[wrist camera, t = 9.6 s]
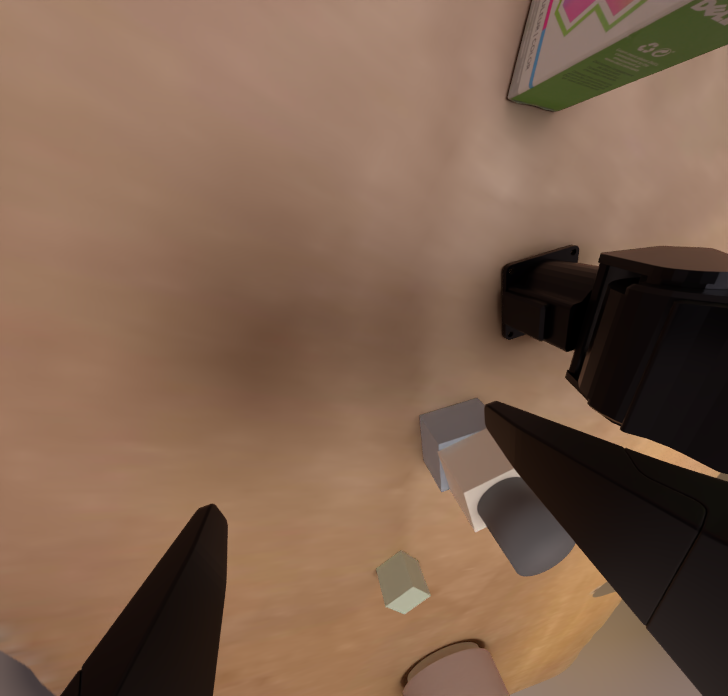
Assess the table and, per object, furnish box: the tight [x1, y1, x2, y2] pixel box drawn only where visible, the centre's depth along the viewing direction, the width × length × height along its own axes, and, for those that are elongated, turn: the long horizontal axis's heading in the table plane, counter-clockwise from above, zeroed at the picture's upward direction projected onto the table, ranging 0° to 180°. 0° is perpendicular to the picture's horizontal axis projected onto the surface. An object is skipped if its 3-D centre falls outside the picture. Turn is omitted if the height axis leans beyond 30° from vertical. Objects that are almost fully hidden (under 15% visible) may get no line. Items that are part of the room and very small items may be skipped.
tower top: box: [437, 428, 520, 532], centre depth 23 cm, size 5×5×4 cm
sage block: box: [376, 550, 431, 614], centre depth 34 cm, size 4×4×4 cm
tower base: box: [419, 398, 486, 492], centre depth 27 cm, size 6×6×4 cm
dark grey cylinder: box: [477, 477, 575, 576], centre depth 20 cm, size 4×4×4 cm
